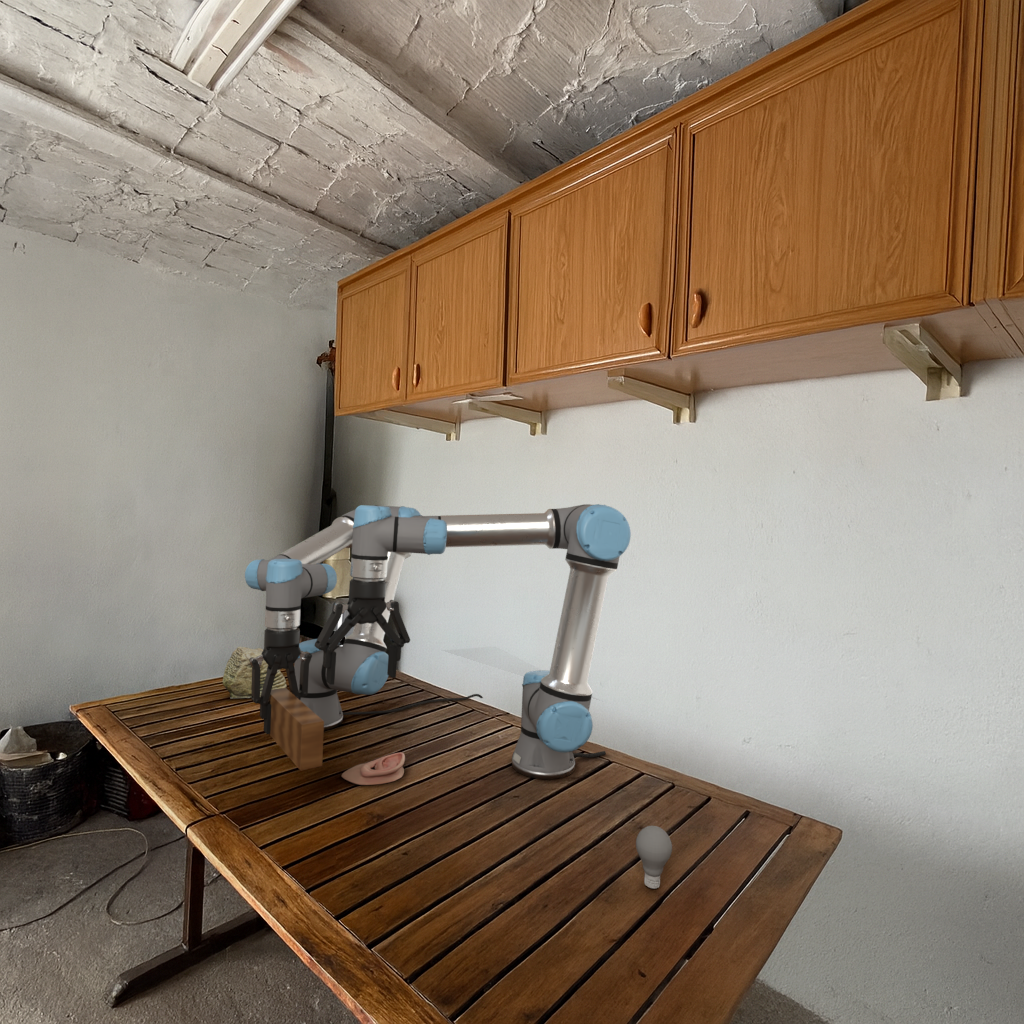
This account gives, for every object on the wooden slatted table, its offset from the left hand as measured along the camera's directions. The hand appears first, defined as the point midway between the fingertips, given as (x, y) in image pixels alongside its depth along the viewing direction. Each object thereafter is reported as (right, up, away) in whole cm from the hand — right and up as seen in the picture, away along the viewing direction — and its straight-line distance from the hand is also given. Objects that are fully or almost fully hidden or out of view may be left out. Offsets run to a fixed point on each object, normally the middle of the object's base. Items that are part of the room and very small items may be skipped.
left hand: (278, 729), depth 144 cm
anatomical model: (+21, -11, +1) cm, 24 cm away
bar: (+6, -1, -8) cm, 10 cm away
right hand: (+21, +14, -11) cm, 28 cm away
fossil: (-28, -8, +54) cm, 62 cm away
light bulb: (+77, -14, -37) cm, 86 cm away
